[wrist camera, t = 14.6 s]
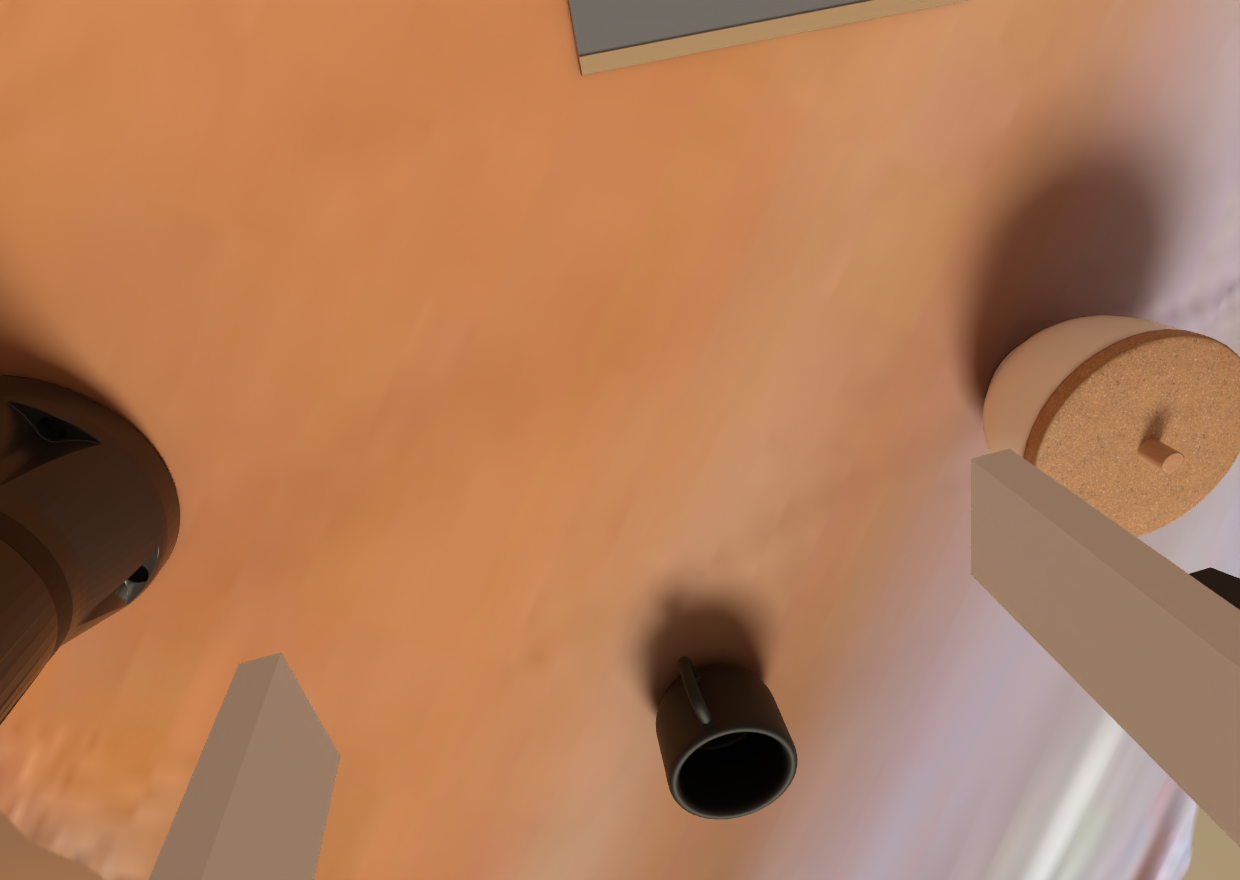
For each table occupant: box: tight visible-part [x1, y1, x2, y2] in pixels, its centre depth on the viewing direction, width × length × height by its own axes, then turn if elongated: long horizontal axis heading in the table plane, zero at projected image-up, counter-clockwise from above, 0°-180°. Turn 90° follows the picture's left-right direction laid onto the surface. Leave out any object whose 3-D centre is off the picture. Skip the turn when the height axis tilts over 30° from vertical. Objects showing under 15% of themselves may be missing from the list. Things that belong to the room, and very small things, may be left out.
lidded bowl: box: [983, 315, 1240, 537], centre depth 44 cm, size 13×13×11 cm
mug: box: [656, 656, 797, 819], centre depth 53 cm, size 12×9×7 cm
